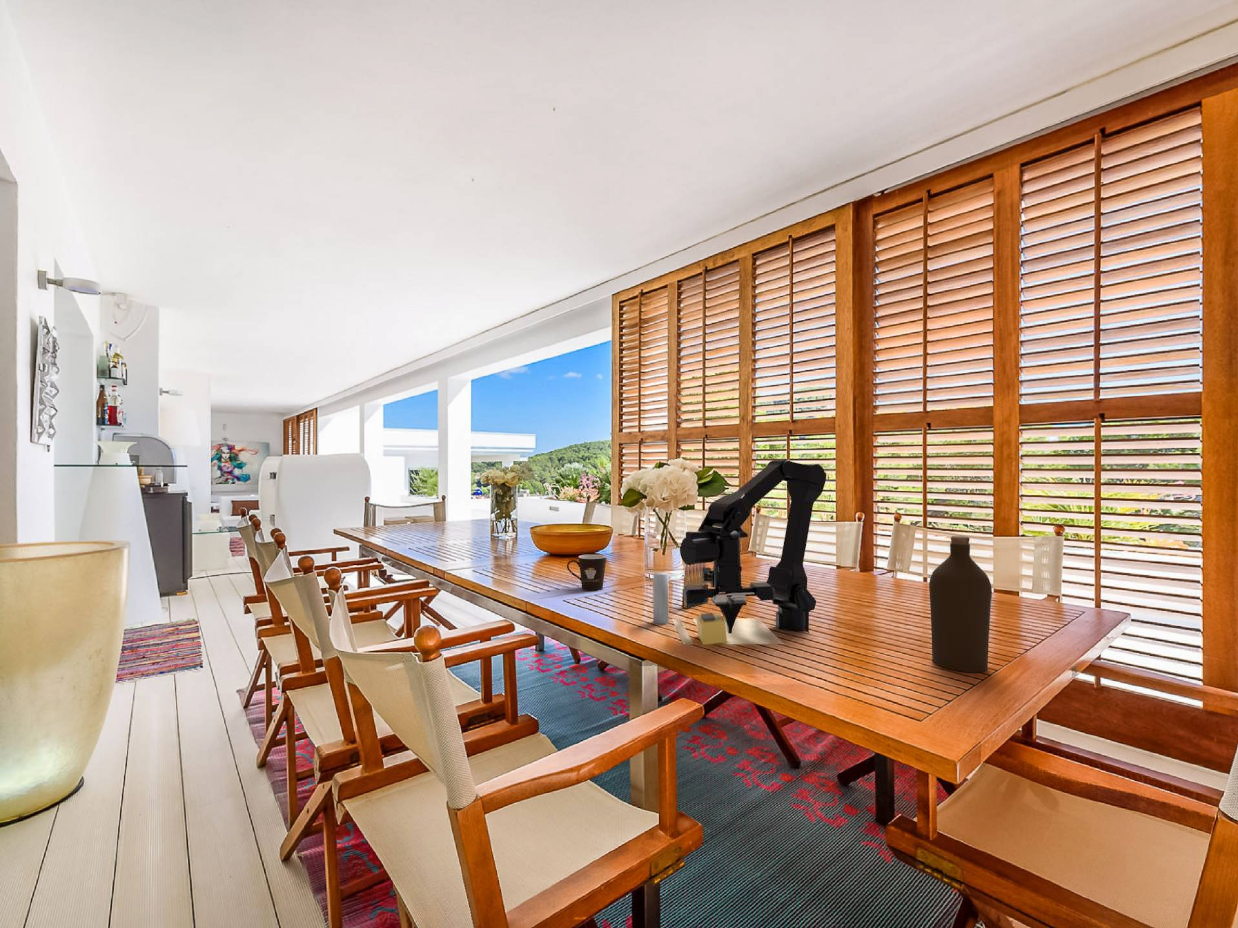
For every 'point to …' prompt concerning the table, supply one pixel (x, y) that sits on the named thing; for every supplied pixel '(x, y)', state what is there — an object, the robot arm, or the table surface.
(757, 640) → the panel
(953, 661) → the olive oil
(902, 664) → the table surface
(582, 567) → the coffee mug
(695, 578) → the ammunition clip
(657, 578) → the light grey cylinder
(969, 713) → the table surface
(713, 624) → the block
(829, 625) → the table surface
